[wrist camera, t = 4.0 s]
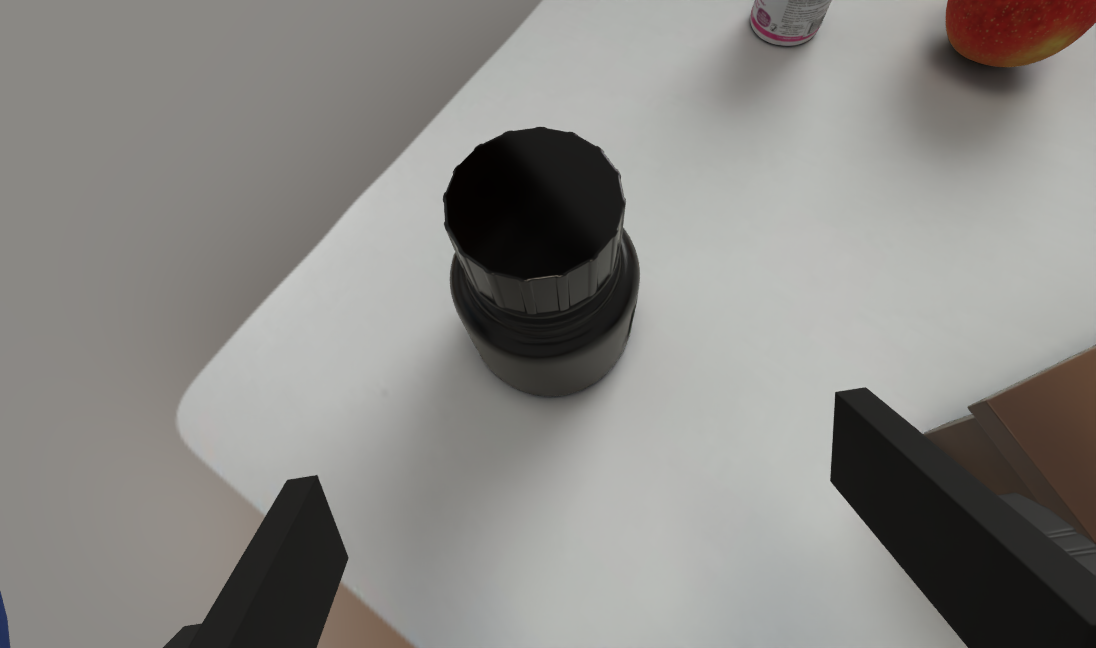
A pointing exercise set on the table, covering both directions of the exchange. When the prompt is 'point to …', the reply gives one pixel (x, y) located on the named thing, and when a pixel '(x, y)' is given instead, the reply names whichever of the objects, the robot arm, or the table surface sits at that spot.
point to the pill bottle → (787, 20)
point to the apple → (1016, 28)
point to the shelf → (1035, 440)
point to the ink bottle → (542, 259)
